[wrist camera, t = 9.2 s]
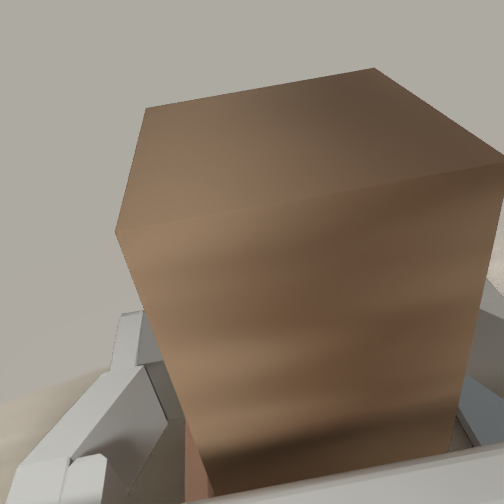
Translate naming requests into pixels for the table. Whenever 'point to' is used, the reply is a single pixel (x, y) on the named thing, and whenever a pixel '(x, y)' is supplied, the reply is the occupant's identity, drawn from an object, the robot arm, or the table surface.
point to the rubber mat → (481, 413)
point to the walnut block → (311, 271)
